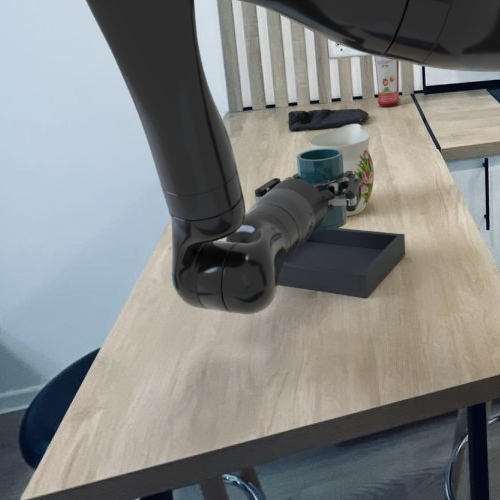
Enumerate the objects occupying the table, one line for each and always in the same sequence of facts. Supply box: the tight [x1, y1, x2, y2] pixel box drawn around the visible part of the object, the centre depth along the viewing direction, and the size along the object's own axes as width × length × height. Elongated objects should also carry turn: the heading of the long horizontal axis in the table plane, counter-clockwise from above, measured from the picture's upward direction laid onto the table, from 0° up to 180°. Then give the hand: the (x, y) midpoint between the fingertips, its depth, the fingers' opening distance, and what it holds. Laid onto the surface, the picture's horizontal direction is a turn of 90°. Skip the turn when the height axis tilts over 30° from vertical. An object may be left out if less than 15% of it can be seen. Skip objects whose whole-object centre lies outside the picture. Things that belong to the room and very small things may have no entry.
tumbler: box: [296, 148, 348, 231], centre depth 92 cm, size 6×6×10 cm
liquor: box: [374, 56, 401, 108], centre depth 192 cm, size 7×7×28 cm
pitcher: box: [309, 123, 375, 217], centre depth 114 cm, size 11×18×14 cm, turn 151°
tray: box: [277, 227, 406, 299], centre depth 96 cm, size 18×15×3 cm
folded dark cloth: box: [287, 108, 370, 132], centre depth 184 cm, size 15×22×5 cm
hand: (326, 177), depth 93 cm, fingers closed on tumbler, 6 cm apart
